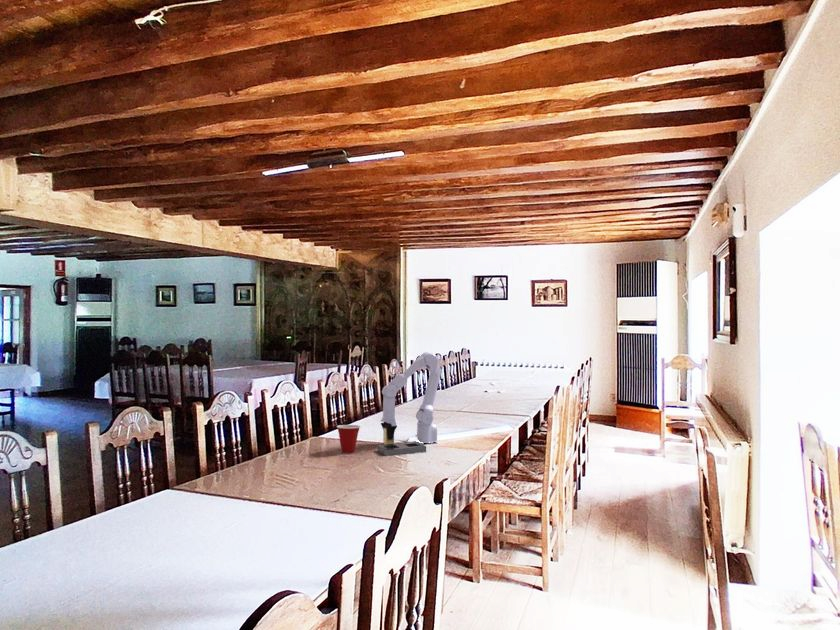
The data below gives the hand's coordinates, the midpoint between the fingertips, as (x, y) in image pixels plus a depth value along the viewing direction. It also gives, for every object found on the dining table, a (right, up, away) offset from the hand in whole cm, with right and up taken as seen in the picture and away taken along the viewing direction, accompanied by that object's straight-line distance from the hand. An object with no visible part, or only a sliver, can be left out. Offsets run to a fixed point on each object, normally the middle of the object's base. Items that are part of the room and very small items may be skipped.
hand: (388, 438), depth 261 cm
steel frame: (+7, -3, -13) cm, 15 cm away
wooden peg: (0, -3, 0) cm, 3 cm away
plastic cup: (-17, -3, -15) cm, 23 cm away
